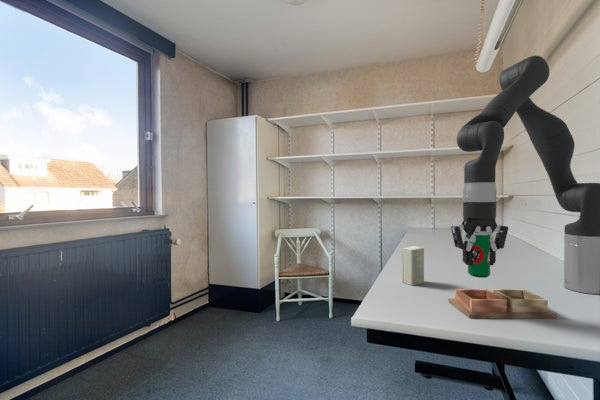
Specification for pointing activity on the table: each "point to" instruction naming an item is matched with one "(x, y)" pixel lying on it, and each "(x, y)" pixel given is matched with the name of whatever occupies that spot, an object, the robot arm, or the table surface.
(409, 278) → the skincare box
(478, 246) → the soda can
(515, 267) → the table surface
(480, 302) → the can rack
